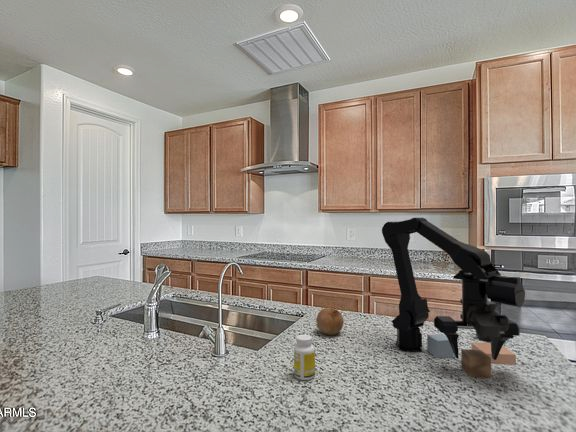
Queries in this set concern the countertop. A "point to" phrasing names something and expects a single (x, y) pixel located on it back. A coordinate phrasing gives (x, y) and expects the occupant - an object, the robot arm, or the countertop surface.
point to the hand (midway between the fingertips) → (475, 358)
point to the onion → (330, 321)
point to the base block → (503, 357)
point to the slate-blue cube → (439, 346)
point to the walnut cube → (476, 363)
